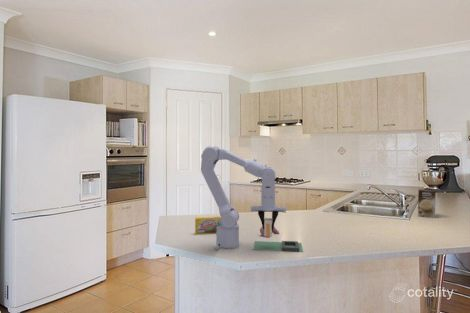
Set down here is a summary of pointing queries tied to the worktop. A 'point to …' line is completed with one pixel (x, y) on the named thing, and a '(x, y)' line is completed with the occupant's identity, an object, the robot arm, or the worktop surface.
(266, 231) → the plug
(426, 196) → the coffee box
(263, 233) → the pink toy figure
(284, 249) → the frame
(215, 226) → the candy box
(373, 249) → the worktop surface
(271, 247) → the circuit board
